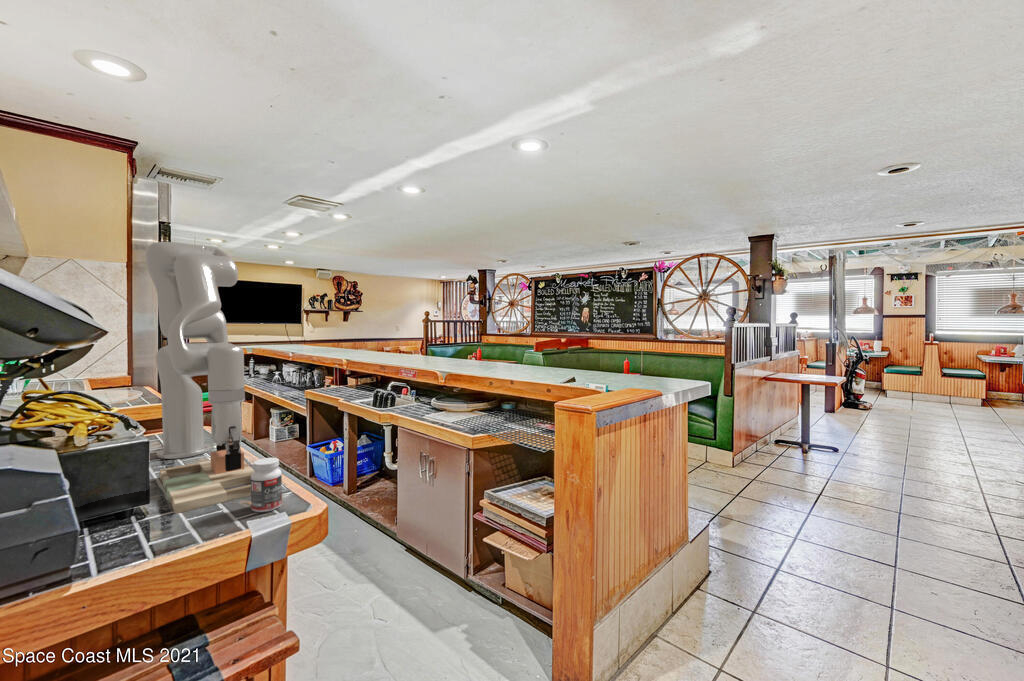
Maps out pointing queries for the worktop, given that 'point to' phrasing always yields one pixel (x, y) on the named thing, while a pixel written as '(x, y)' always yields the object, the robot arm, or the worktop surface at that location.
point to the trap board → (204, 485)
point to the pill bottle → (266, 485)
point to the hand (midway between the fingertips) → (228, 464)
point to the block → (222, 461)
